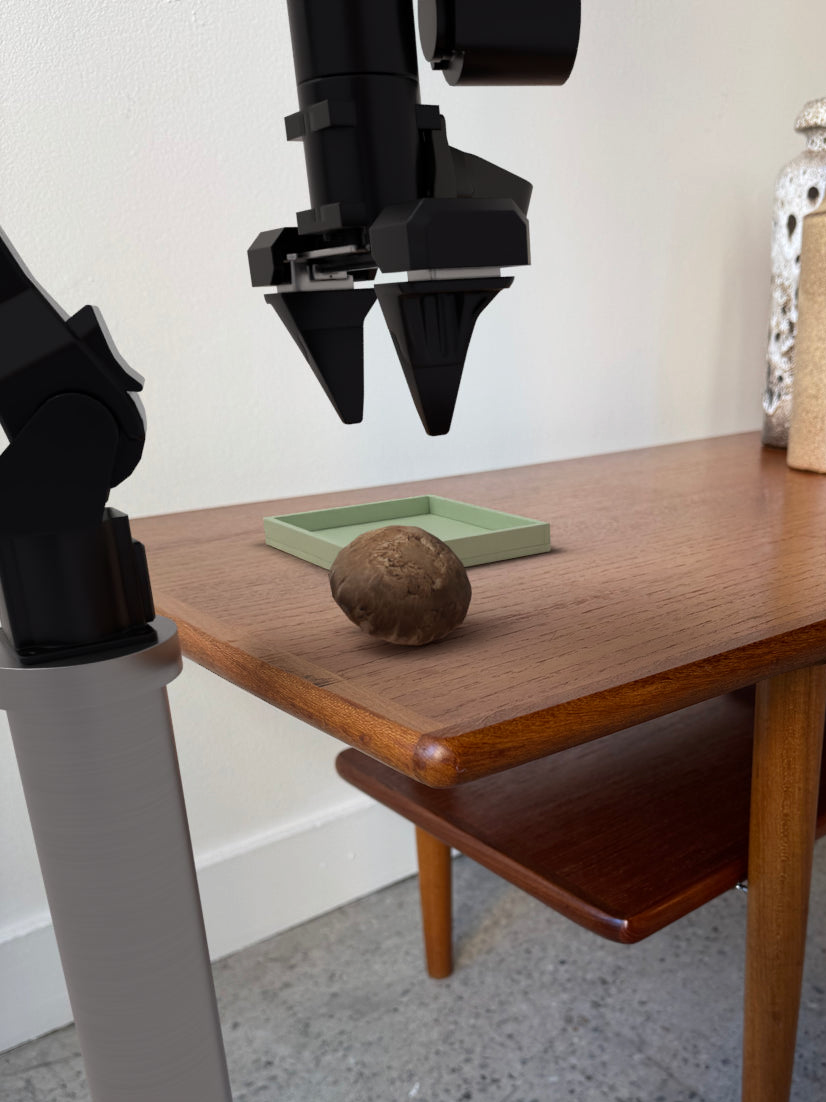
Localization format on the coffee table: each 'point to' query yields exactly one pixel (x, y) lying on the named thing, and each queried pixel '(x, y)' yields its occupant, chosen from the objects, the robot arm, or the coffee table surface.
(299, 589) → the coffee table surface
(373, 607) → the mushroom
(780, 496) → the coffee table surface
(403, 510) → the tray
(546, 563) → the coffee table surface
